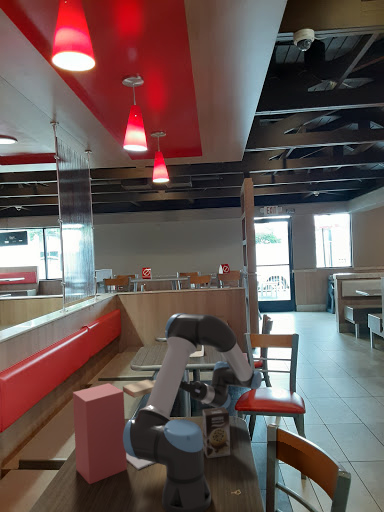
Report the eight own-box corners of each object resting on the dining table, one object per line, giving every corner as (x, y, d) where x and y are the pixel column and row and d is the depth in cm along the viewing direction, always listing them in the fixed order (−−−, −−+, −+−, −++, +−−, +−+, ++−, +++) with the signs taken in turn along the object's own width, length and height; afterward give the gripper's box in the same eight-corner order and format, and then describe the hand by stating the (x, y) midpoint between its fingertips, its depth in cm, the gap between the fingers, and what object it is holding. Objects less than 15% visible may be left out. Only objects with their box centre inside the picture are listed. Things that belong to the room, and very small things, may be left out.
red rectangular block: (112, 456, 152) (108, 383, 151) (126, 469, 142) (123, 391, 142) (76, 469, 143) (72, 392, 143) (89, 484, 134) (85, 401, 133)
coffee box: (207, 458, 147) (205, 415, 147) (203, 450, 153) (201, 408, 153) (231, 455, 149) (229, 412, 149) (226, 447, 155) (224, 406, 155)
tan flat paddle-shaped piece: (172, 377, 167) (172, 372, 167) (185, 382, 160) (184, 377, 160) (122, 391, 153) (122, 386, 153) (134, 397, 146) (134, 392, 146)
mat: (174, 429, 173) (174, 427, 173) (199, 444, 158) (199, 442, 158) (115, 450, 156) (115, 449, 156) (138, 469, 142) (137, 468, 142)
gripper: (210, 406, 163) (167, 390, 151) (187, 395, 176) (146, 380, 164) (216, 388, 165) (175, 371, 153) (193, 379, 178) (153, 362, 166)
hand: (160, 376), depth 158 cm, fingers closed on tan flat paddle-shaped piece, 3 cm apart
